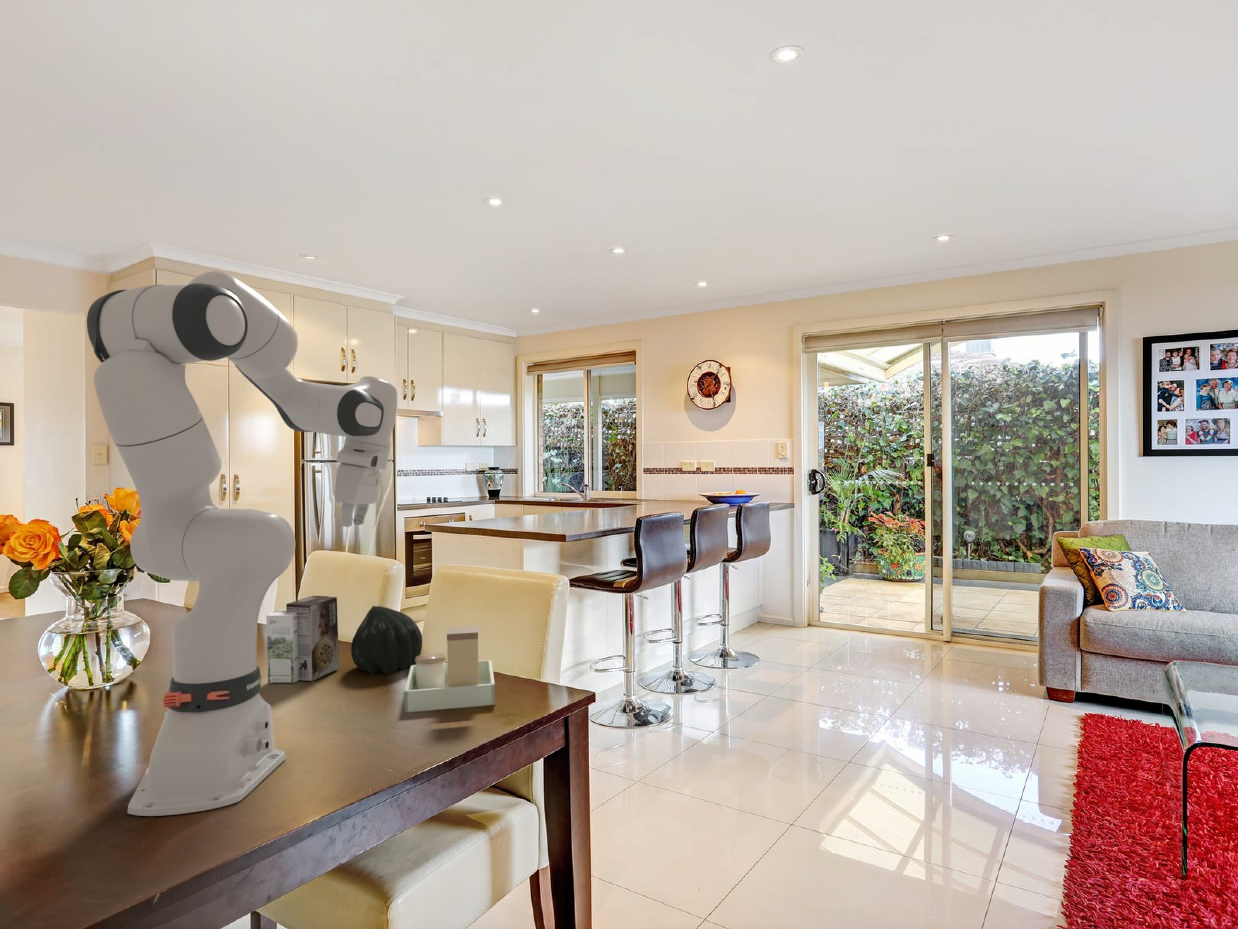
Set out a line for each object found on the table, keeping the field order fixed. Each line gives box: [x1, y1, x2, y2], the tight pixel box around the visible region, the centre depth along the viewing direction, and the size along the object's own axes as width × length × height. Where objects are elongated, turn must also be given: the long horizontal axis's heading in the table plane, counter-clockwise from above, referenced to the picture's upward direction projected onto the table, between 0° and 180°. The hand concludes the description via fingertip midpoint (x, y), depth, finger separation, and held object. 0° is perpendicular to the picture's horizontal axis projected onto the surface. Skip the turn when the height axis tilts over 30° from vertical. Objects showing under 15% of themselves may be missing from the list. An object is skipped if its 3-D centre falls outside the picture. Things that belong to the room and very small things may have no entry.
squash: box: [350, 605, 423, 675], centre depth 158 cm, size 14×15×15 cm
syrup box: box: [265, 609, 300, 684], centre depth 152 cm, size 6×6×14 cm
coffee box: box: [285, 595, 340, 682], centre depth 155 cm, size 9×6×16 cm
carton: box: [446, 625, 479, 687], centre depth 136 cm, size 6×6×13 cm
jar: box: [415, 652, 446, 690], centre depth 143 cm, size 6×6×6 cm
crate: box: [403, 659, 496, 713], centre depth 139 cm, size 17×16×4 cm
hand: (352, 525), depth 145 cm, fingers open, 8 cm apart
